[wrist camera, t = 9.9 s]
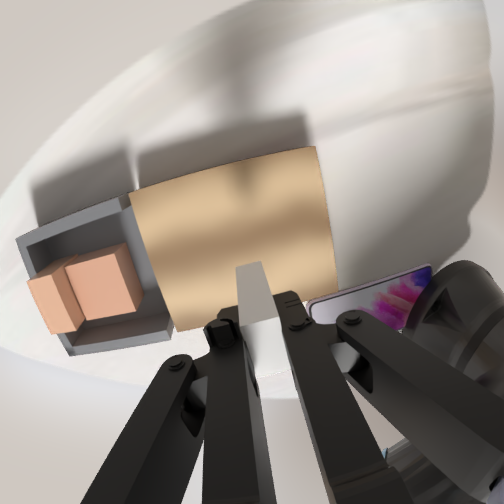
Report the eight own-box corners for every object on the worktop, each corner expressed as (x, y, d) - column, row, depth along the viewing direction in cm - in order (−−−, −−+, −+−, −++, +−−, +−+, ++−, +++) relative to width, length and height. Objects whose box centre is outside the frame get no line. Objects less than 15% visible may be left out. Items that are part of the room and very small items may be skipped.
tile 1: (76, 330, 20) (51, 334, 20) (96, 302, 24) (73, 307, 24) (51, 274, 18) (26, 281, 18) (77, 253, 23) (54, 260, 23)
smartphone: (306, 303, 27) (433, 262, 27) (303, 299, 28) (428, 260, 28) (315, 360, 29) (430, 317, 30) (312, 355, 30) (426, 314, 30)
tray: (176, 315, 26) (170, 339, 23) (83, 334, 26) (69, 356, 23) (133, 190, 23) (118, 197, 19) (38, 227, 22) (15, 238, 19)
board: (327, 277, 27) (338, 291, 24) (181, 314, 27) (177, 332, 24) (304, 147, 23) (315, 145, 20) (139, 189, 23) (128, 193, 20)
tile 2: (144, 294, 25) (136, 311, 22) (98, 304, 25) (87, 320, 22) (126, 242, 23) (114, 253, 20) (79, 255, 23) (64, 267, 20)
